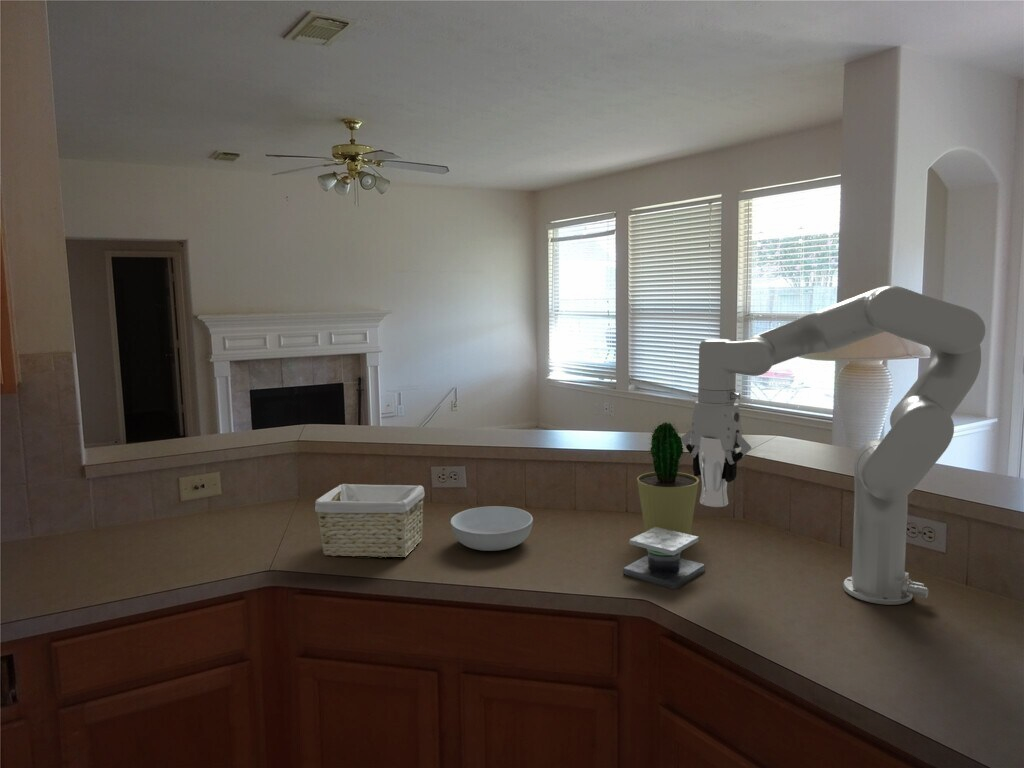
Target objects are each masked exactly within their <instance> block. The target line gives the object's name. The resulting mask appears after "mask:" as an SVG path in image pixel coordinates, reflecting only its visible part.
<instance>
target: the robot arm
mask: <svg viewBox="0 0 1024 768" xmlns="http://www.w3.org/2000/svg"><path fill="white" fill-rule="evenodd" d="M884 332H885V333H889V334H891V335H894V336H896V337H899V338H902V339H904V340H906V341H907V340H908V341H910V342H914V343H916V344H919V345H922V346H925V347H928V348H930V351H929V352H930V354H929V359H928V361H927V364H926V365H925V367H924V369H923V370H922V371H921V373H920V375H919V376H918V378H917V379H916V381H915V382H913V384H912V386H911V387H910V388H909V390H908V391H907V392H906V394H904V396H903V397H902V398H901V400H899V402H898V403H897V404H896V405H895V406H894V408H893V410H892V411H891V414H890V415H889V416H890V417H889V425H890V430H888V431H887V434H886V435H885V436H884V437H883V439H873V440H870V441H867V442H865V443H864V444H863V445H862V446H861V447H860V448H859V449H858V451H857V453H856V454H855V458H854V463H853V464H854V465H853V466H854V467H853V476H854V477H853V478H854V502H853V503H854V505H853V506H854V507H853V512H854V513H853V530H852V531H853V535H852V537H853V538H852V560H851V561H852V565H851V576H847V578H845V579H844V580H843V587H842V589H844V591H845V592H846V593H847V594H848V595H850V596H851V597H854V598H856V599H857V600H861V601H863V602H868V603H871V604H876V605H886V606H887V605H889V606H896V605H903V604H906V603H908V602H910V601H912V599H913V596H915V595H916V596H917V597H921V598H925V599H928V596H929V588H928V587H925V583H922V582H918V581H912V579H910V573H909V572H907V571H906V551H907V550H906V549H907V546H906V545H907V531H908V530H907V525H908V523H907V522H908V506H909V505H908V504H909V503H908V497H909V496H908V495H909V494H911V492H912V491H914V490H915V488H917V486H918V485H919V484H920V483H921V482H922V481H923V479H924V478H925V476H927V475H928V473H929V472H930V471H931V469H932V468H933V467H934V466H935V465H936V463H937V462H938V461H939V459H940V458H941V457H942V456H943V454H944V453H945V452H946V450H947V449H948V447H949V445H951V443H952V440H953V438H954V433H955V424H954V421H953V418H952V415H953V414H954V413H955V411H956V410H957V409H958V408H959V406H960V405H961V403H962V401H963V400H964V399H965V397H966V396H967V395H968V393H969V392H970V391H971V389H972V388H973V386H974V385H975V382H976V380H978V379H977V378H978V376H979V373H980V369H981V364H982V348H981V344H982V342H983V340H984V339H985V335H986V325H985V322H984V320H983V318H982V317H981V316H980V315H979V314H978V313H977V312H976V311H974V310H972V309H970V308H968V307H964V306H961V305H956V304H953V303H950V302H948V301H945V300H940V299H938V298H934V297H931V296H928V295H924V294H922V293H919V292H916V291H914V290H911V289H907V288H905V287H902V286H897V285H884V286H880V287H876V288H873V289H871V290H868V291H866V292H863V293H861V294H857V295H855V296H853V297H850V298H847V299H845V300H842V301H839V302H837V303H833V304H832V305H829V306H826V307H824V308H821V309H818V310H817V311H816V310H815V311H813V312H811V313H808V314H806V315H804V316H802V317H801V318H798V319H795V320H793V321H791V322H788V323H785V324H783V325H779V326H777V327H775V328H772V329H770V330H766V331H764V332H761V333H758V334H756V335H752V336H751V337H748V338H746V339H744V340H739V341H738V340H737V341H734V340H732V339H728V338H706V339H703V340H702V341H701V342H700V343H699V345H698V346H699V348H698V379H697V380H698V383H697V385H698V388H697V389H698V391H697V401H695V403H694V406H693V411H692V417H691V424H690V430H689V431H688V432H687V431H686V433H685V434H684V435H682V436H681V437H680V438H681V441H682V443H683V446H684V447H685V450H687V451H688V453H689V454H690V457H691V458H692V470H693V476H695V477H699V476H700V469H699V461H698V449H699V442H700V436H703V437H706V438H714V439H720V441H721V445H722V449H723V450H724V451H726V458H727V460H728V464H726V471H725V481H726V482H727V483H730V482H733V481H734V480H735V479H736V477H737V470H738V469H737V466H738V465H737V464H738V463H739V462H740V461H741V460H742V459H743V458H744V457H745V456H746V455H747V454H748V453H749V452H750V451H751V450H752V446H751V444H750V443H748V442H747V440H746V439H745V438H744V437H743V435H742V434H743V433H742V432H743V430H742V418H741V411H740V406H739V403H737V402H736V401H737V400H738V401H739V400H740V399H741V394H740V393H738V392H736V391H737V390H736V374H737V375H742V376H743V375H744V376H750V377H751V376H752V377H757V376H762V375H764V374H766V373H768V372H769V371H770V370H771V369H772V367H773V366H775V365H778V364H781V363H784V362H786V361H789V360H792V359H795V358H798V357H802V356H806V355H809V354H819V353H820V354H822V353H827V352H831V351H834V350H837V349H841V348H844V347H846V346H848V345H851V344H853V343H857V342H859V341H862V340H865V339H868V338H871V337H873V336H877V335H879V334H882V333H884ZM735 402H736V403H735ZM739 448H741V449H740V450H739V451H738V452H737V450H736V449H739Z"/></svg>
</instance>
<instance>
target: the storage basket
mask: <svg viewBox="0 0 1024 768" xmlns="http://www.w3.org/2000/svg"><path fill="white" fill-rule="evenodd" d="M425 494H426V493H425V488H424V486H422V485H419V484H418V485H406V484H405V485H404V484H403V485H402V484H393V485H392V484H357V483H356V484H353V483H352V484H348V483H342V484H339V485H338V486H336V487H334V488H333V489H331V490H329V491H328V492H326V493H324V494H323V495H322V496H320V497H319V498H317V499H316V500H315V502H314V503H315V507H314V511H315V512H316V514H317V517H318V524H319V533H320V540H321V542H322V545H321V546H322V551H323V554H324V553H331V554H348V555H359V556H382V557H385V558H386V557H405V558H406V556H407V555H408V554H409V553H410V552H411V551H412V550H414V549H415V548H414V547H416V548H417V546H416V545H417V544H418V543H419V544H420V542H421V541H423V540H422V539H423V523H424V522H423V515H424V514H423V512H424V511H423V509H424V508H423V506H424V498H425V496H426V495H425ZM419 544H418V545H419ZM412 552H413V551H412ZM412 552H411V553H412ZM411 553H410V554H411ZM410 554H409V555H410ZM409 555H408V556H409ZM408 556H407V557H408ZM382 557H381V558H382Z"/></svg>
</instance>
